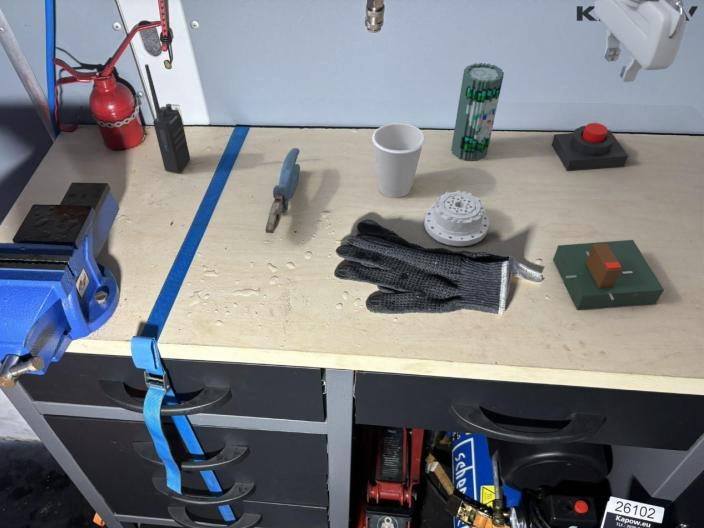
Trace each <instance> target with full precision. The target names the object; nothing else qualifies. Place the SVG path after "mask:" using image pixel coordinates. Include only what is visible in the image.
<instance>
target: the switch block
mask: <svg viewBox="0 0 704 528" xmlns="http://www.w3.org/2000/svg"><path fill="white" fill-rule="evenodd" d="M585 127H586V125H581V126H579V127H577V128H575V129H574V131H573V132H569V133H568V132H567V133H566V132H565V133H554V135H553V139H552V142H551V146H552V148H553V150H554V152H555V154H557V157H558V159H559V160H560V162H561V163H562V165H563V168H564V169H565V170H566V171H567V172H569V171H582V170H583V171H584V170H596V169H597V170H598V169H611V168H623V167H626V164H627V161H628V159H629V155H628V153H627V151H626V150H625V149H624V147H623V146H622V145H621V143H620V142H619V141H618V139H617V137H616V136H615V135H614V134H613V132H612V131H611V129H608V132H607V134H606V137H605V140H604V141H603V142H601V143H593V142H588V141H587V140H585V139H583V137H582V135H583V132H584V129H585Z"/></svg>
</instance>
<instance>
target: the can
mask: <svg viewBox="0 0 704 528" xmlns="http://www.w3.org/2000/svg"><path fill="white" fill-rule="evenodd" d="M504 73H505V72H504V71H503V69H502V68H501V67H499V66H497V65H495V64H491V63H483V62H480V63H477V62H476V63H473V64H470V65H467V66H466V67H465V68H464V69H463V74H462V81H461V86H460V93H459V98H458V106H457V112H456V118H455V124H454V131H453V137H452V141H451V142H452V143H451V149H450V151H451V153H452V155H453V156H455V157H456V158H458V159H459V160H461V159H462V160H463V161H467V162H468V161H470V162H472V161H475V162H476V161H479V160H481V159H484V158H486V156H487V155H488V150H489V146H490V142H491V137H492V133H493V127H494V122H495V117H496V113H497V109H498V103H499V99H500V94H501V90H502V85H503V79H504V75H505V74H504Z"/></svg>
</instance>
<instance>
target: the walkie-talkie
mask: <svg viewBox="0 0 704 528" xmlns="http://www.w3.org/2000/svg"><path fill="white" fill-rule="evenodd" d="M144 68H145V73H146V77H147V81H148V85H149V90H150V94H151V99H152V102H153V107H154V111H155V116H156V117H155V119H154V120H153V122H152V123H153V124H152V125H153V128H154V132H155V135H156V140H157V144H158V147H159V152H160V155H161V160H162V164H163V168H164V171H168V172H172V173H177V174H180V173H181V172H182V171H183V170H184V169H185V167H187V165H188V164H189V163H190V162H191V155H190V151H189V150H190V149H189V146H188V142H187V137H186V132H185V127H184V121H183V118H182V115H181V113H180V111H179V110H178V109H173V108H172V104H171V103H166V104H165V106H160V103H159V100H158V96H157V92H156V88H155V84H154V81H153V77H152V73H151V70H150V67H149V64H148V63H147V64H144Z"/></svg>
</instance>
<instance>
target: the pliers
mask: <svg viewBox="0 0 704 528" xmlns="http://www.w3.org/2000/svg"><path fill="white" fill-rule="evenodd" d="M299 154H300V149H299V148H298V147H293V148H291V149H290V150H289V151H288V153H287V154H286V156H285V158H284V161H283V163H282V167H281V170H280V175H279V179H278V184H276V185H274V187H273V190H272V196H273V199H274V200H273V202H272V204H271V207H270V210H269V213H268V217H267V222H266V225H265V233H266V234H274V233H275V231H276V229H278V226H279V224H280V222H281V218H282V214H286V213H287V212H288V210H289V200H290V198H291V197H292V196H293V194H294V191H295V189H296V187H297V185H298V181H299V178H300V171H301V166H300V164H299V163H297V159H298V156H299Z"/></svg>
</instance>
